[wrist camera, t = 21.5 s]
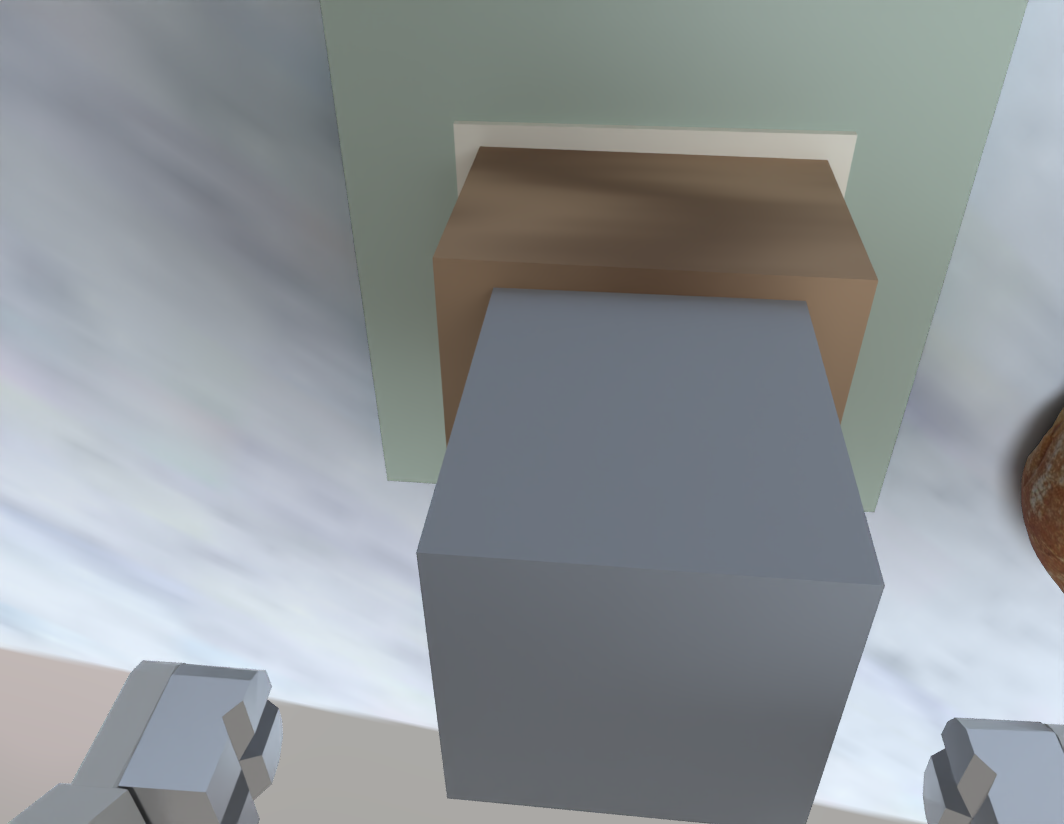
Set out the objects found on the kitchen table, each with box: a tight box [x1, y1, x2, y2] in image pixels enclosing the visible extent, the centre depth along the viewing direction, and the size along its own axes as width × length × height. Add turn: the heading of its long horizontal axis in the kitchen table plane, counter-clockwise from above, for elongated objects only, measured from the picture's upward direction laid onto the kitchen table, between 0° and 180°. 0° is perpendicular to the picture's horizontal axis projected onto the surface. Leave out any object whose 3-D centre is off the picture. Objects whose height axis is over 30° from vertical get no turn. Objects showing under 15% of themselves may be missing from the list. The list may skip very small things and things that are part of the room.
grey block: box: [416, 288, 885, 824], centre depth 13 cm, size 5×5×6 cm
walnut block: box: [432, 146, 878, 449], centre depth 18 cm, size 7×6×5 cm
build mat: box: [320, 0, 1028, 512], centre depth 20 cm, size 13×13×1 cm
